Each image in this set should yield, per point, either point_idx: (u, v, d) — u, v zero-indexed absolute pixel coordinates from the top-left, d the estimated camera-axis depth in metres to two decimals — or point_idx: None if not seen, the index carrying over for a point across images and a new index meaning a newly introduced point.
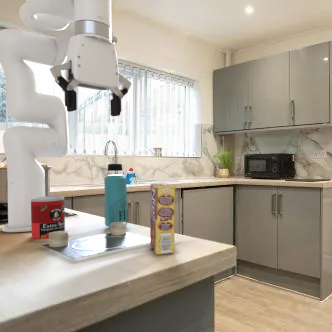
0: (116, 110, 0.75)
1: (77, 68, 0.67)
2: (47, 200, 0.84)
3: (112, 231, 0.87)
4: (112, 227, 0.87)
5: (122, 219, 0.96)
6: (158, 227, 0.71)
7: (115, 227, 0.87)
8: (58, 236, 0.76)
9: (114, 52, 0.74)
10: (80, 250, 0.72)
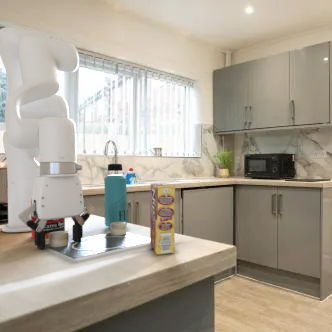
0: (77, 238, 0.79)
1: (41, 208, 0.73)
2: None
3: (112, 231, 0.87)
4: (112, 227, 0.87)
5: (122, 219, 0.96)
6: (158, 227, 0.71)
7: (115, 227, 0.87)
8: (58, 236, 0.76)
9: (78, 182, 0.79)
10: (80, 250, 0.72)
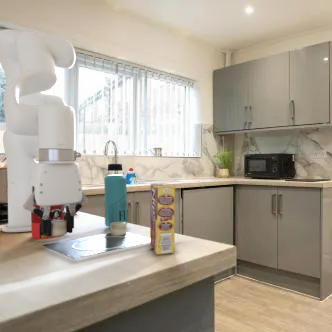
0: (68, 228, 0.79)
1: (39, 195, 0.73)
2: None
3: (112, 231, 0.87)
4: (112, 227, 0.87)
5: (122, 219, 0.96)
6: (158, 227, 0.71)
7: (115, 227, 0.87)
8: (57, 225, 0.76)
9: (77, 170, 0.79)
10: (80, 250, 0.72)
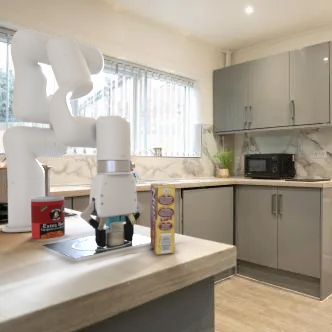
0: (129, 237, 0.80)
1: (100, 206, 0.73)
2: (47, 200, 0.84)
3: None
4: (112, 227, 0.87)
5: (122, 219, 0.96)
6: (158, 227, 0.71)
7: (115, 227, 0.87)
8: (116, 235, 0.77)
9: (133, 180, 0.79)
10: (80, 250, 0.72)
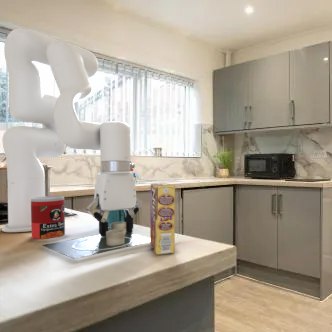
0: (129, 228, 0.90)
1: (103, 201, 0.84)
2: (47, 200, 0.84)
3: None
4: (112, 227, 0.87)
5: (122, 219, 0.96)
6: (158, 227, 0.71)
7: (115, 227, 0.87)
8: (116, 235, 0.77)
9: (132, 179, 0.90)
10: (80, 250, 0.72)
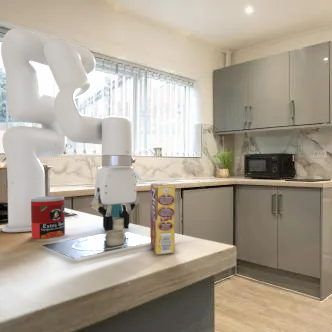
0: (125, 224, 0.90)
1: (104, 195, 0.84)
2: (47, 200, 0.84)
3: None
4: None
5: None
6: (158, 227, 0.71)
7: (113, 223, 0.87)
8: (116, 235, 0.77)
9: (133, 173, 0.90)
10: (80, 250, 0.72)
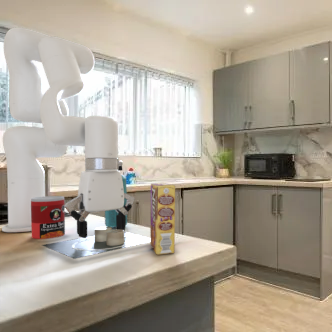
0: (121, 227, 0.85)
1: (88, 201, 0.77)
2: (47, 200, 0.84)
3: (96, 237, 0.80)
4: (96, 232, 0.80)
5: None
6: (158, 227, 0.71)
7: (99, 233, 0.80)
8: (116, 235, 0.77)
9: (120, 177, 0.83)
10: (80, 250, 0.72)
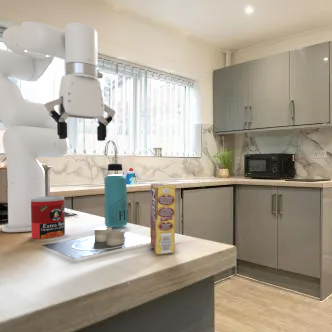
0: (102, 136, 0.88)
1: (67, 103, 0.80)
2: (47, 200, 0.84)
3: (96, 237, 0.80)
4: (96, 232, 0.80)
5: (122, 219, 0.96)
6: (158, 227, 0.71)
7: (99, 233, 0.80)
8: (116, 235, 0.77)
9: (100, 87, 0.86)
10: (80, 250, 0.72)
